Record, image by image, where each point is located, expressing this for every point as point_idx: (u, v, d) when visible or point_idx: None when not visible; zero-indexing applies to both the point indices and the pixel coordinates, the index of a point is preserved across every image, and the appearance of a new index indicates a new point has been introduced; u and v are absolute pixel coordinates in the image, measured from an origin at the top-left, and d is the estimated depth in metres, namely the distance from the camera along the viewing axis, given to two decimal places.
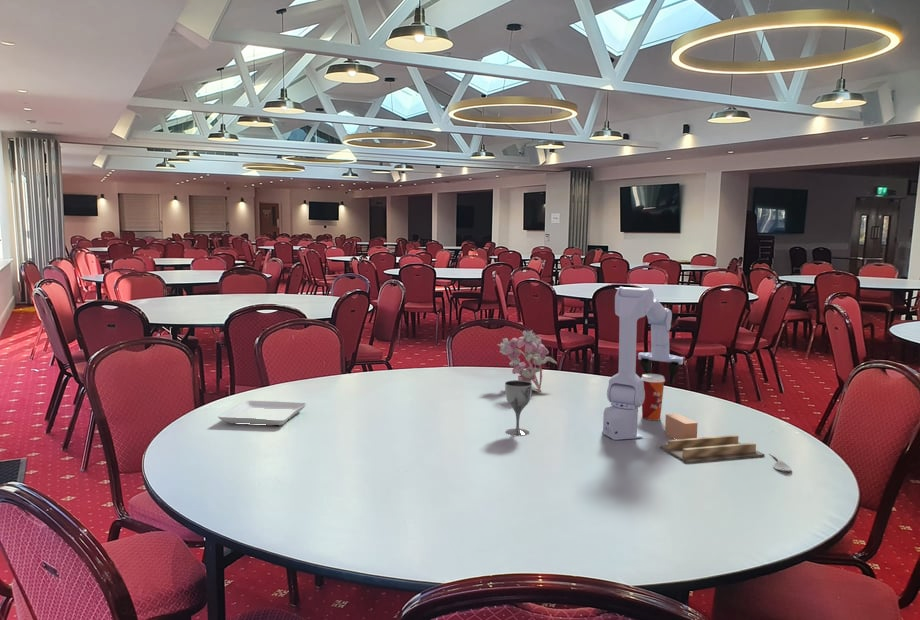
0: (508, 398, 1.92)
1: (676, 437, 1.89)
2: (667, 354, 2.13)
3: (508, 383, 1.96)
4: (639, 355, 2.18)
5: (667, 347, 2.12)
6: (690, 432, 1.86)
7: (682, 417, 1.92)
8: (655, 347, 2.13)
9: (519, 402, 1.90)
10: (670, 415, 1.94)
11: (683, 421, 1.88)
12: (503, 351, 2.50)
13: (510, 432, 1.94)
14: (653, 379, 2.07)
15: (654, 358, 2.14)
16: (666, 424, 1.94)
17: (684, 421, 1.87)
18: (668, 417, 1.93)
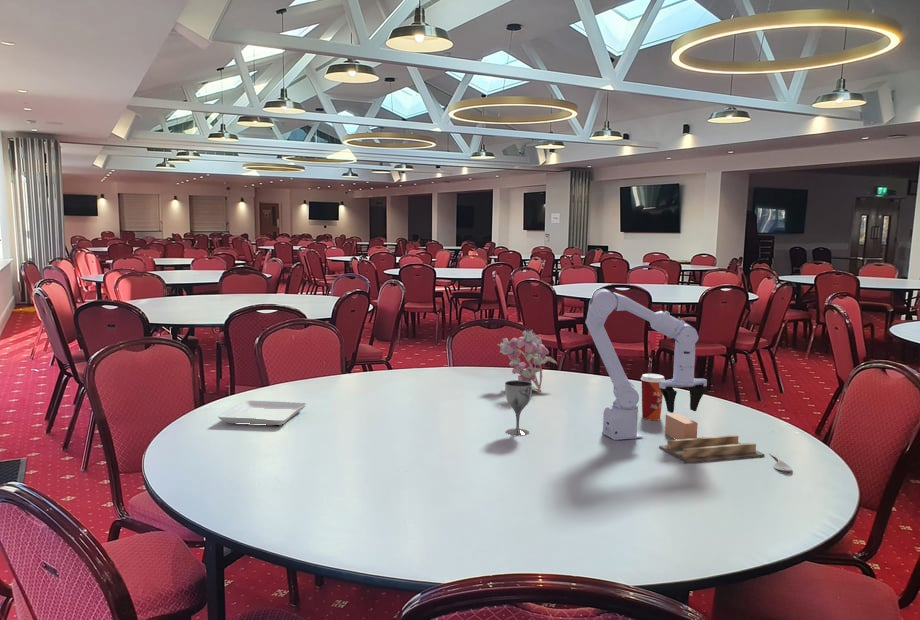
0: (508, 398, 1.92)
1: (676, 437, 1.89)
2: (673, 376, 1.89)
3: (508, 383, 1.96)
4: None
5: (674, 368, 1.89)
6: (690, 432, 1.86)
7: (682, 417, 1.92)
8: None
9: (519, 402, 1.90)
10: (670, 415, 1.94)
11: (683, 421, 1.88)
12: (503, 351, 2.50)
13: (510, 432, 1.94)
14: (653, 379, 2.07)
15: None
16: (666, 424, 1.94)
17: (684, 421, 1.87)
18: (668, 417, 1.93)
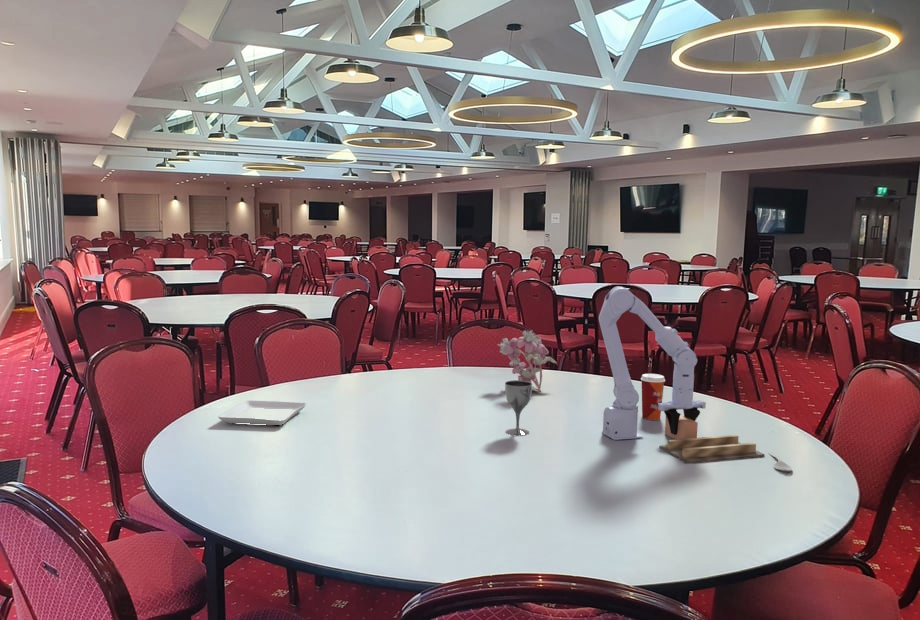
0: (508, 398, 1.92)
1: (676, 437, 1.89)
2: (672, 399, 1.90)
3: (508, 383, 1.96)
4: None
5: (672, 391, 1.90)
6: (690, 432, 1.86)
7: (682, 417, 1.92)
8: None
9: (519, 402, 1.90)
10: None
11: (683, 420, 1.88)
12: (503, 351, 2.50)
13: (510, 432, 1.94)
14: (653, 379, 2.07)
15: None
16: (666, 424, 1.94)
17: (684, 421, 1.87)
18: None
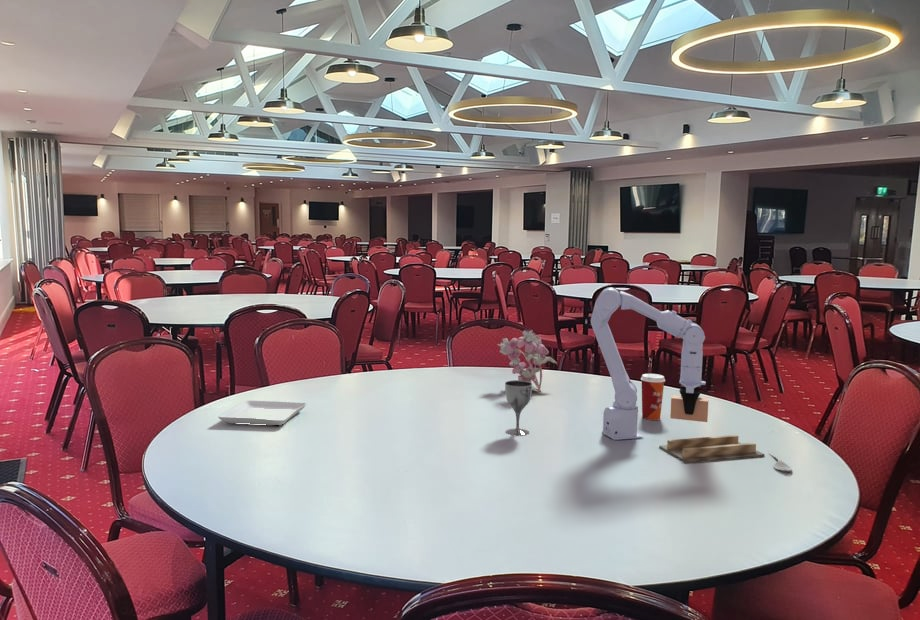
0: (508, 398, 1.92)
1: (692, 418, 1.85)
2: (687, 379, 1.84)
3: (508, 383, 1.96)
4: None
5: (687, 370, 1.84)
6: None
7: None
8: None
9: (519, 402, 1.90)
10: (676, 397, 1.87)
11: (699, 399, 1.85)
12: (503, 351, 2.50)
13: (510, 432, 1.94)
14: (653, 379, 2.07)
15: None
16: (673, 408, 1.87)
17: (700, 399, 1.85)
18: (676, 400, 1.87)
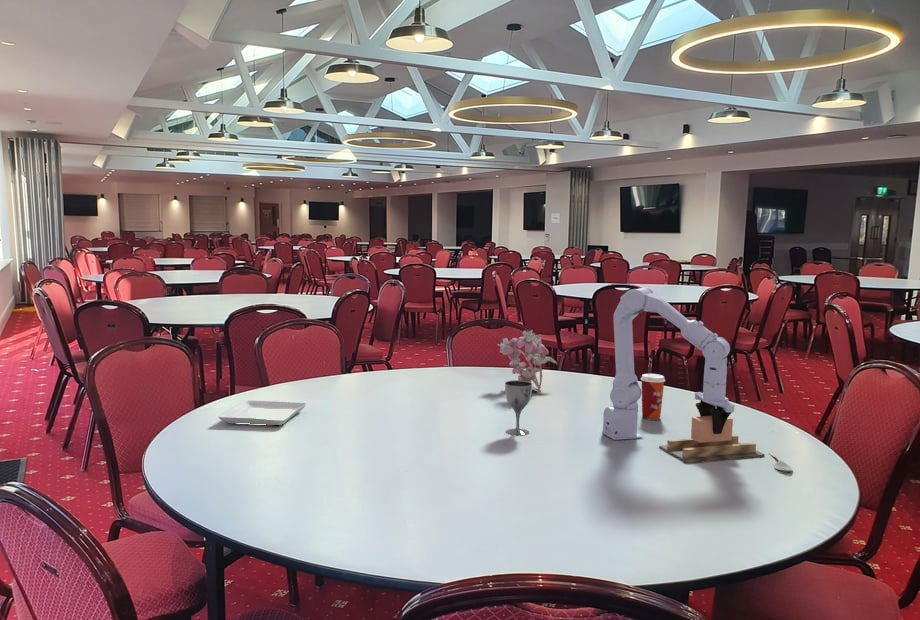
0: (508, 398, 1.92)
1: (719, 438, 1.77)
2: (717, 397, 1.74)
3: (508, 383, 1.96)
4: (695, 394, 1.83)
5: (718, 388, 1.74)
6: None
7: (707, 417, 1.78)
8: (704, 385, 1.77)
9: (519, 402, 1.90)
10: (703, 420, 1.76)
11: None
12: (503, 351, 2.50)
13: (510, 432, 1.94)
14: (653, 379, 2.07)
15: (702, 398, 1.77)
16: (702, 431, 1.75)
17: None
18: (705, 422, 1.75)
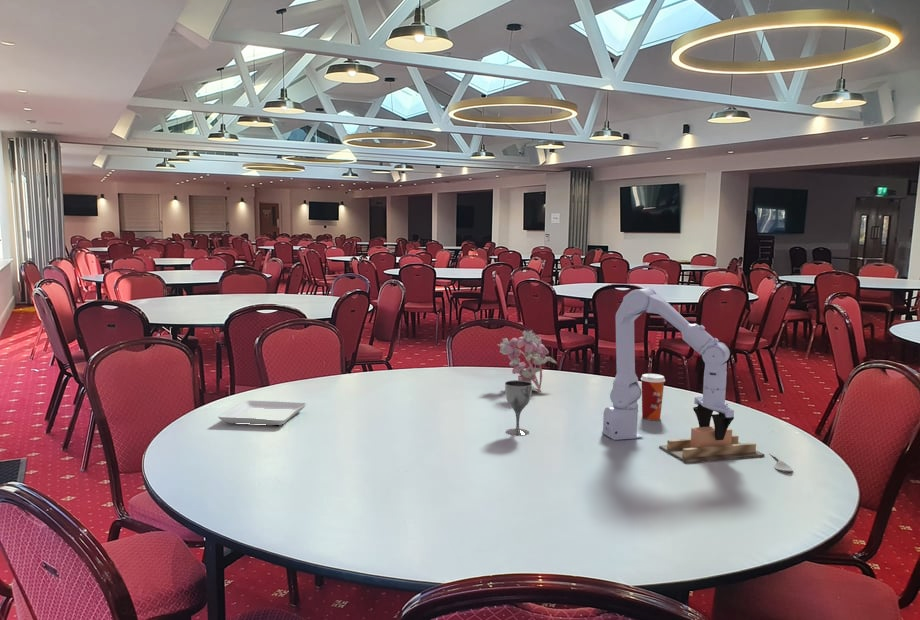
0: (508, 398, 1.92)
1: None
2: (717, 402, 1.74)
3: (508, 383, 1.96)
4: (695, 399, 1.83)
5: (717, 393, 1.74)
6: None
7: (706, 427, 1.79)
8: (704, 390, 1.77)
9: (519, 402, 1.90)
10: (702, 430, 1.76)
11: None
12: (503, 351, 2.50)
13: (510, 432, 1.94)
14: (653, 379, 2.07)
15: (702, 403, 1.77)
16: (701, 442, 1.75)
17: None
18: (704, 433, 1.75)
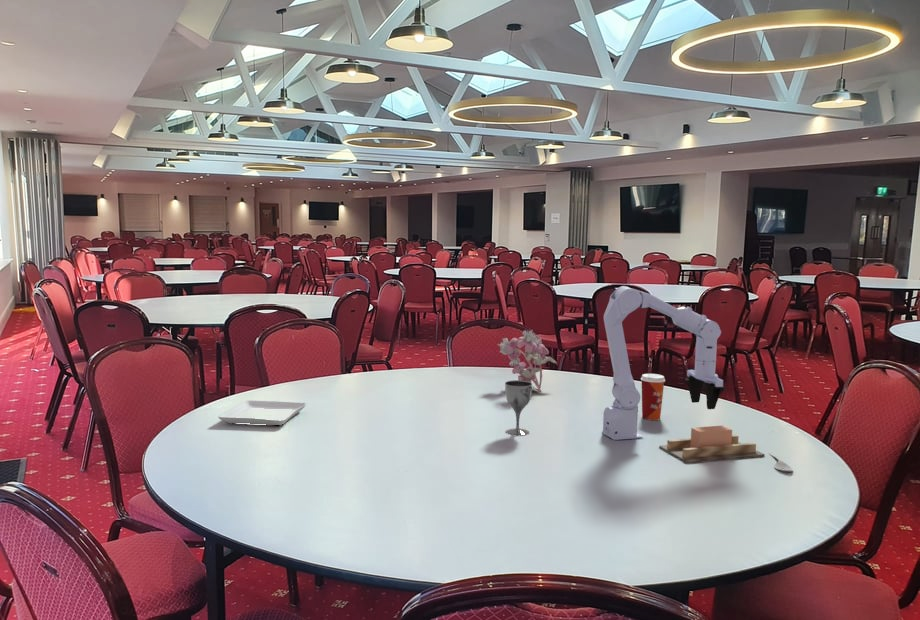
0: (508, 398, 1.92)
1: None
2: (707, 373, 1.88)
3: (508, 383, 1.96)
4: (688, 371, 1.97)
5: (708, 365, 1.87)
6: None
7: (706, 427, 1.79)
8: (695, 362, 1.90)
9: (519, 402, 1.90)
10: (702, 430, 1.76)
11: (722, 429, 1.78)
12: (503, 351, 2.50)
13: (510, 432, 1.94)
14: (653, 379, 2.07)
15: (694, 375, 1.91)
16: (701, 442, 1.75)
17: (722, 428, 1.78)
18: (704, 433, 1.75)
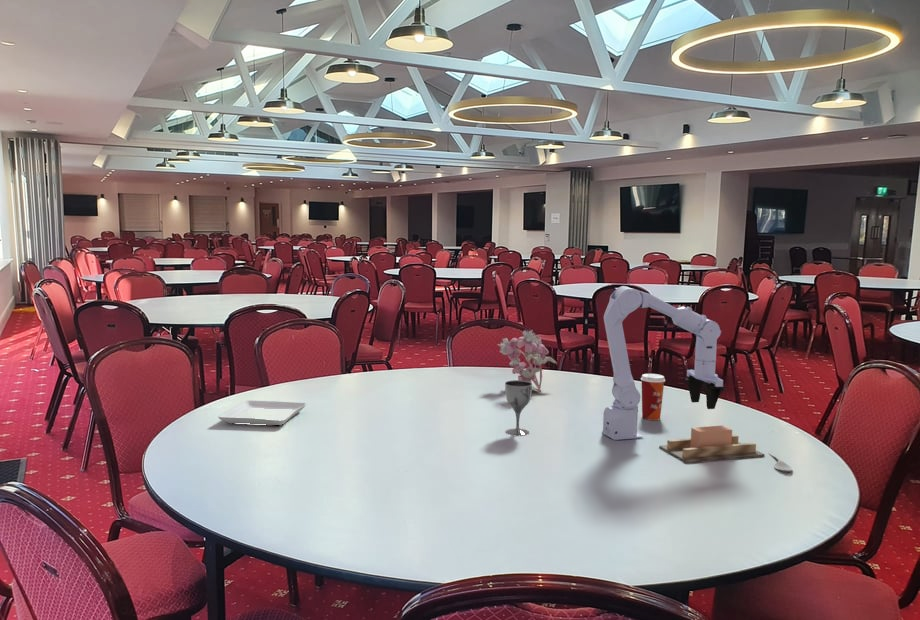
0: (508, 398, 1.92)
1: None
2: (707, 373, 1.88)
3: (508, 383, 1.96)
4: (687, 371, 1.97)
5: (708, 365, 1.87)
6: None
7: (706, 427, 1.79)
8: (695, 362, 1.90)
9: (519, 402, 1.90)
10: (702, 430, 1.76)
11: (722, 429, 1.78)
12: (503, 351, 2.50)
13: (510, 432, 1.94)
14: (653, 379, 2.07)
15: (694, 375, 1.91)
16: (701, 442, 1.75)
17: (722, 428, 1.78)
18: (704, 433, 1.75)
